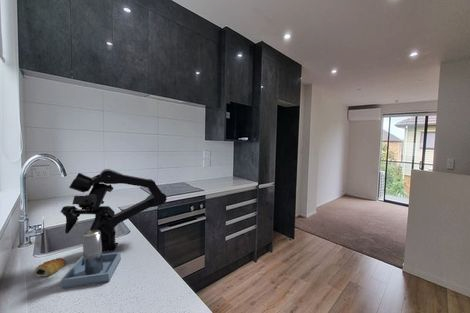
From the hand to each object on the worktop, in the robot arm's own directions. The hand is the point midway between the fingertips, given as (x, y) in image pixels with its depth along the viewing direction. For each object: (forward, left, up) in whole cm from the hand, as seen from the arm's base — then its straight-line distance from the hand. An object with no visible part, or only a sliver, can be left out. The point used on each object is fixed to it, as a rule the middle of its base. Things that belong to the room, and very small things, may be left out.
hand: (78, 233), depth 80 cm
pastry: (-1, -10, -14) cm, 17 cm away
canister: (+5, +6, -13) cm, 15 cm away
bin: (+5, +6, -14) cm, 16 cm away
